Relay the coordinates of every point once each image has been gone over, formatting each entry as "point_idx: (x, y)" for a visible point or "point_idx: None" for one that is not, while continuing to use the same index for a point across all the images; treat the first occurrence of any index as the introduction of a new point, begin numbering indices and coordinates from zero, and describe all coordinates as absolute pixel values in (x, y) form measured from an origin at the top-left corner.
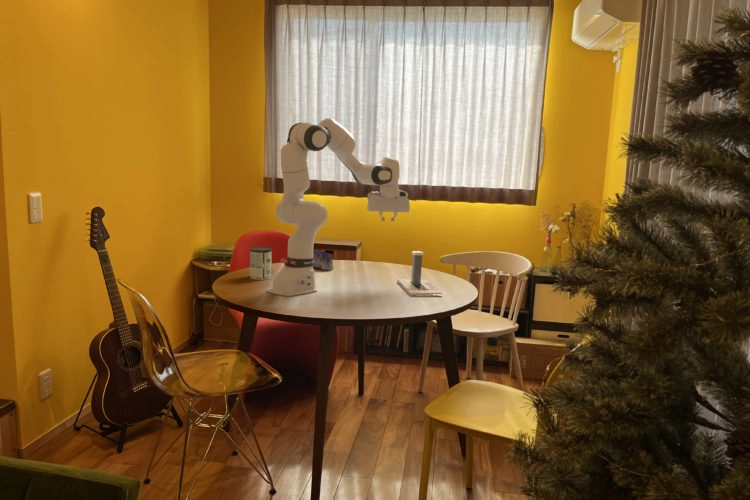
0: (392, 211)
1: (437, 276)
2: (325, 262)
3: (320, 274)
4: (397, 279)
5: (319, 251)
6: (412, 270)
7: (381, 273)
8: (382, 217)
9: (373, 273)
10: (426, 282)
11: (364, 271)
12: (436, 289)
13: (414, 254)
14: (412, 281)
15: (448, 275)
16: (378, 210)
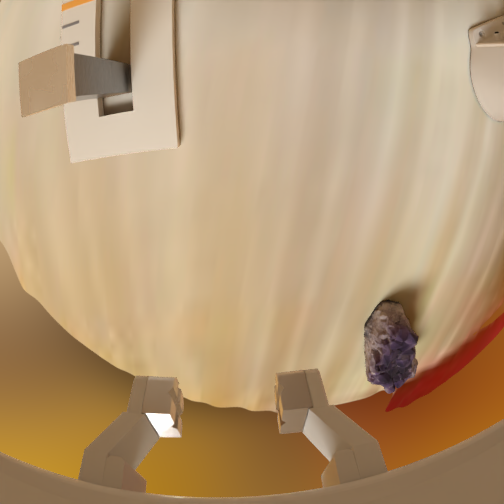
0: (154, 501)
1: (44, 262)
2: (403, 317)
3: (421, 254)
4: (177, 141)
5: (390, 388)
6: (108, 85)
7: (221, 290)
8: (319, 407)
9: (250, 287)
10: (72, 105)
11: (276, 311)
12: (66, 2)
13: (70, 44)
14: (125, 75)
15: (21, 278)
16: (432, 470)
